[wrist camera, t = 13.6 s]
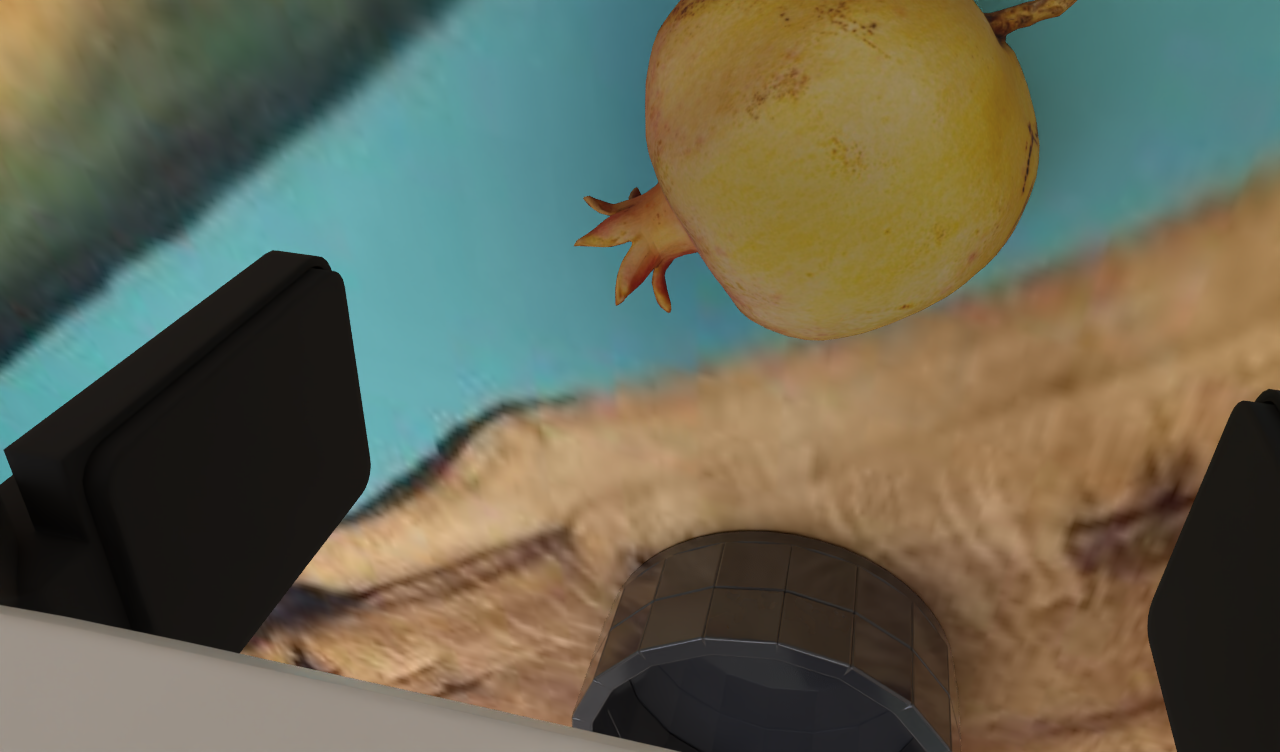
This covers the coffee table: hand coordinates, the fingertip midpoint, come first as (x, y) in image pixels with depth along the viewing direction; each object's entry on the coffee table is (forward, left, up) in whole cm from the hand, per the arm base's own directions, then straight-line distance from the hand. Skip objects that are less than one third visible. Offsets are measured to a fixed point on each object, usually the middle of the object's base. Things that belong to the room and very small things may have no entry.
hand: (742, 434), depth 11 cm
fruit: (0, 0, -12) cm, 12 cm away
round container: (-1, +17, -12) cm, 21 cm away
